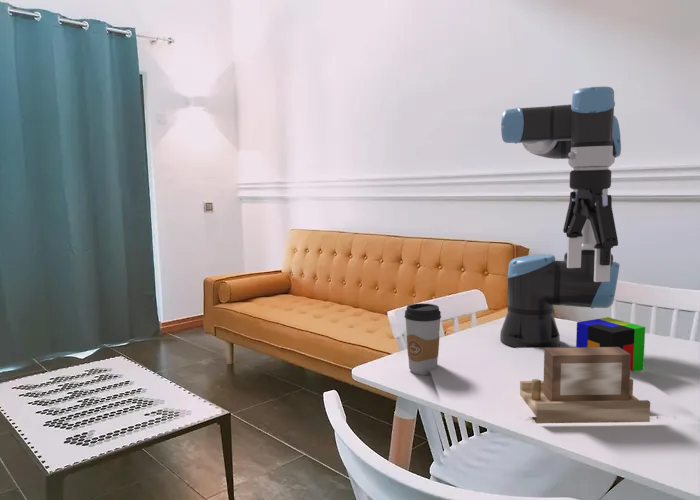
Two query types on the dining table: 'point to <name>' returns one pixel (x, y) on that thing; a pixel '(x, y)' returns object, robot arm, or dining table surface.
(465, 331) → the dining table surface
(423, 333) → the coffee cup
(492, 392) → the dining table surface
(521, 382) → the ledge
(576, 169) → the robot arm
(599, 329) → the puzzle toy
